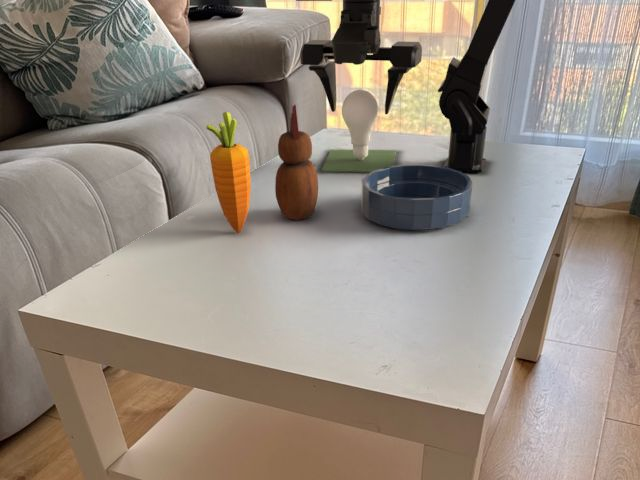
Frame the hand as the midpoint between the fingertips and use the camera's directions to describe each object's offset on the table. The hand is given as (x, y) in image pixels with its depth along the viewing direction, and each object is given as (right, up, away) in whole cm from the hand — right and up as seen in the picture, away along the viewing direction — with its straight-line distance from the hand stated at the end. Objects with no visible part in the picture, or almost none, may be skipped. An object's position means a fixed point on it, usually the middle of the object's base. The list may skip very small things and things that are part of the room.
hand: (359, 112), depth 106 cm
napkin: (0, -6, +5) cm, 8 cm away
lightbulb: (0, -6, +5) cm, 8 cm away
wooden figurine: (-10, -22, -14) cm, 28 cm away
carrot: (-18, -26, -19) cm, 37 cm away
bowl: (+7, -22, -15) cm, 27 cm away
